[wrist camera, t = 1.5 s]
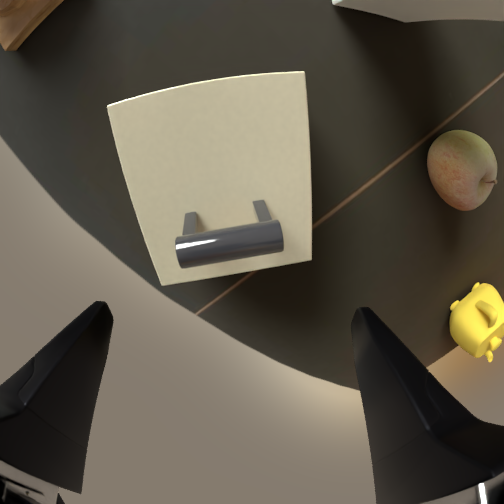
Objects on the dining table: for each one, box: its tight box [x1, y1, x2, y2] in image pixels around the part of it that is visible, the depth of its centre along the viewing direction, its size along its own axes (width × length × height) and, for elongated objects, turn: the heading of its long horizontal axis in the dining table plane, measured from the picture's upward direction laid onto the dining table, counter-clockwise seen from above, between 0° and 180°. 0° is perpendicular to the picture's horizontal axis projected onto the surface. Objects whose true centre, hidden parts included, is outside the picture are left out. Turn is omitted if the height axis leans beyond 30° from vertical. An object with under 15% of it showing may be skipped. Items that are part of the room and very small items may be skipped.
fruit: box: [427, 130, 498, 211], centre depth 20 cm, size 8×7×8 cm
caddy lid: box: [107, 71, 312, 286], centre depth 15 cm, size 12×11×5 cm
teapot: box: [449, 282, 504, 362], centre depth 35 cm, size 18×11×11 cm, turn 37°
